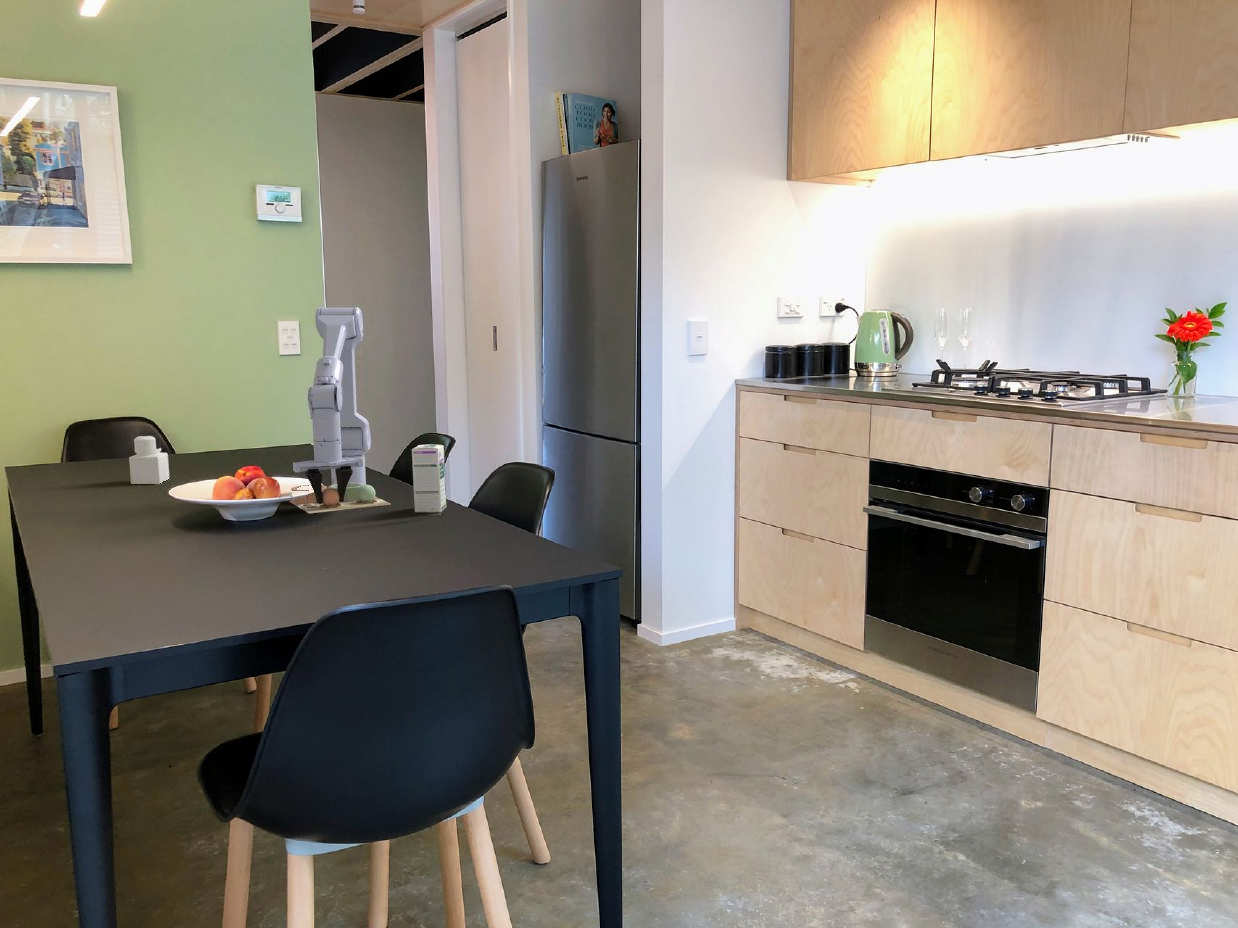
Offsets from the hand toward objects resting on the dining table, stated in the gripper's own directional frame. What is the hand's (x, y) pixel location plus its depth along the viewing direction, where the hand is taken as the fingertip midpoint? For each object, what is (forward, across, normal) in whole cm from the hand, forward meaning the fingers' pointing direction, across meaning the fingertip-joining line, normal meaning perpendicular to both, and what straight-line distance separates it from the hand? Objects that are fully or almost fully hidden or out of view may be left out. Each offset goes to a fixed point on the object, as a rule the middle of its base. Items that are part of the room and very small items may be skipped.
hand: (330, 502), depth 211 cm
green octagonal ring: (+2, +6, +7) cm, 9 cm away
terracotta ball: (+1, 0, 0) cm, 1 cm away
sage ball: (+1, +8, 0) cm, 8 cm away
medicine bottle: (+2, -28, +61) cm, 67 cm away
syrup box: (+2, +17, -15) cm, 23 cm away
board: (+2, +3, +4) cm, 5 cm away
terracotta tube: (+2, -2, +9) cm, 9 cm away
